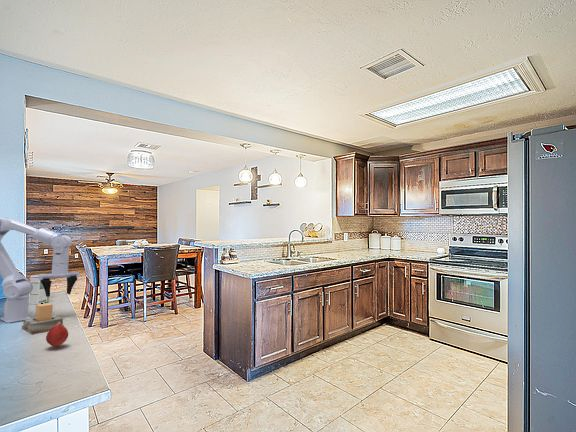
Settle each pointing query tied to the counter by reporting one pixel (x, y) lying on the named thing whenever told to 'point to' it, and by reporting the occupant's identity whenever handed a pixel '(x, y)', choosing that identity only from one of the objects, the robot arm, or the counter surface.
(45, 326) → the socket block
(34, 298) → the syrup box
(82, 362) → the counter surface
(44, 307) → the peg
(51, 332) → the onion
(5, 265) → the robot arm
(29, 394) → the counter surface
